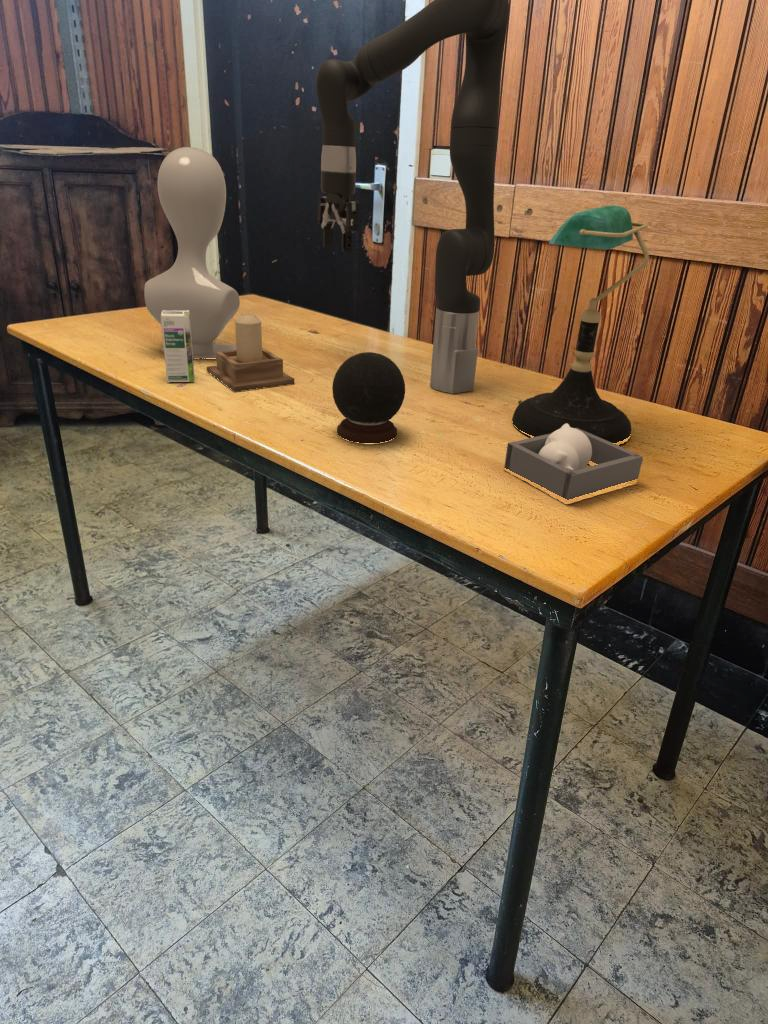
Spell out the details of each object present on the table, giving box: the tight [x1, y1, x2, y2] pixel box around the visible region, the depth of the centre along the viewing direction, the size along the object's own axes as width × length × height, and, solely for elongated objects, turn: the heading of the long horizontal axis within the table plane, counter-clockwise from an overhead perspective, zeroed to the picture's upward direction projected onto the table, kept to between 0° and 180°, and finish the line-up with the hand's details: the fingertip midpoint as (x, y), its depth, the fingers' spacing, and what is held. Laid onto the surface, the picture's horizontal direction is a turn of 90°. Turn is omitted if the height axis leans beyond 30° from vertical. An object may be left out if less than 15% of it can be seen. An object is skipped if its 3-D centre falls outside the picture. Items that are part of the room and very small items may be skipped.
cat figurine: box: [538, 423, 592, 471], centre depth 117 cm, size 9×11×12 cm
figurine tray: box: [503, 428, 644, 500], centre depth 116 cm, size 14×16×5 cm
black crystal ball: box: [331, 351, 406, 443], centre depth 127 cm, size 13×13×15 cm
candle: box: [234, 312, 263, 363], centre depth 153 cm, size 6×6×10 cm
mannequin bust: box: [143, 146, 241, 360], centre depth 163 cm, size 22×20×45 cm
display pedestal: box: [206, 347, 295, 392], centre depth 155 cm, size 16×14×5 cm
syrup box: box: [160, 310, 195, 383], centre depth 150 cm, size 6×6×14 cm
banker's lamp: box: [511, 204, 650, 443], centre depth 129 cm, size 26×23×40 cm
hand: (337, 248), depth 159 cm, fingers open, 8 cm apart
